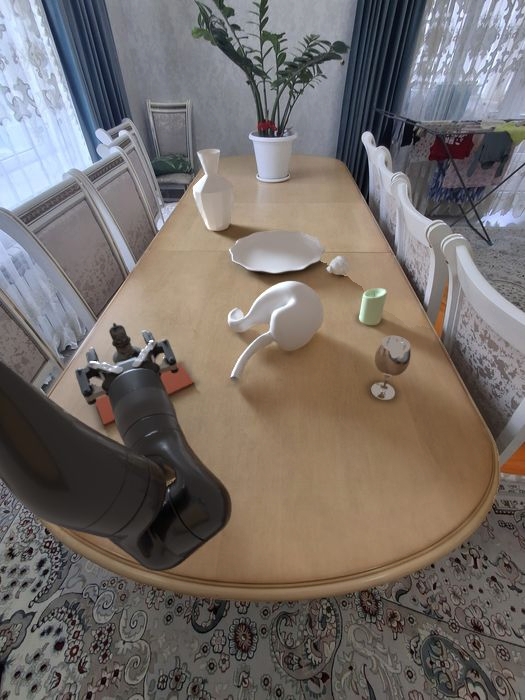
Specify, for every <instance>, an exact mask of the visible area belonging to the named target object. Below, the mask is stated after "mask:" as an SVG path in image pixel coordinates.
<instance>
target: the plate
mask: <svg viewBox="0 0 525 700" xmlns="http://www.w3.org/2000/svg"><path fill="white" fill-rule="evenodd" d="M325 251H326V247H325V246H324V245H322V243H321V242H320V239H319V238H317V237H316V236H314V235H313V236H312V235H309V234H307V233H305V232H302V231H301V230H287V229H286V230H285V229H271V230H265V231H256V232H253V233H251V234H249V235H247V236H243V237H240V238H239V239H237V240H236V242H235V244H234V245H233V246H231V247H230V248H229V250H228V252H229V254H230V255H231V262H232V263H234V264H236V265H240V266H242V267H243V268H244V269H245V270H247V271H249V272H256V273H261V274H264V275H283V274H284V275H285V274H289V273H295V272H300V271H303V270H305V269H306V268H309V266H312V265H314V264H317V263H319V262H320V261H321V260H322V255H323V254H324V252H325Z"/></svg>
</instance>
